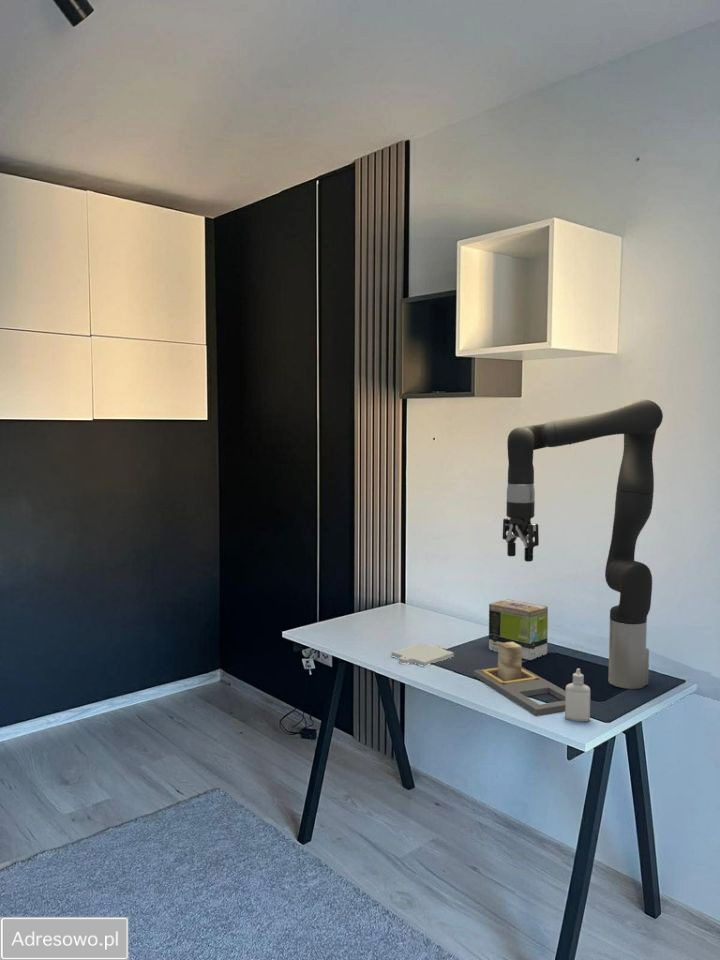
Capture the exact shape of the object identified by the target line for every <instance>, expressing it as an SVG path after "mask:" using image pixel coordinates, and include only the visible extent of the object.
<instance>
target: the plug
mask: <svg viewBox="0 0 720 960" xmlns="http://www.w3.org/2000/svg"><path fill="white" fill-rule="evenodd" d="M522 659H523V658H522V646H520V645H518V644H516V643H514V642H506V643H498V652H497V667H498V676H497V678H499V679H501V680H502V681H511V680H518V679H522V678H521V667H522Z"/></svg>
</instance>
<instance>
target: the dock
mask: <svg viewBox="0 0 720 960" xmlns="http://www.w3.org/2000/svg"><path fill="white" fill-rule="evenodd" d="M473 677H475V678H476V677H477V678H476V679H478V680H479V679H480V680H479V681H481V682H482V681H483V682H482V683H484V684H486V685H487V686H489V687H491V688H492V689H494V690H495V691H497V692H498V693H500V694H502V695H503V696H505V697H506V698H508V699H509V700H511V701H512V702H514V703H515V704H517V705H519V706H520V707H521V708H523V709H525V710H527V711H528V712H529V713H530V714H533V715H535V716H543V715H549V714H555V713H560V712H562V713H563V712H565V691H566V689H565V690H564V689H563V688H561V687H559V686H557V685H555V684H554V683H552V682H551V681H548V680H546V679H545V678H543V677H541V676H539V675H537V674H536V673H533V672H532V671H530V670H528V669H526V668H525V667H523V666H521V679H518V680H511V681H502V680H501V679H499V678H498V666H497V667H491V668H490V667H489V668H483V669H474V670H473ZM546 694H550V695H551V696H553V697H555V698H557V699H558V701H554V702H552V701H551V702H546V703H540V704H539V703H537V702H536V701H535V700H533V699H530V698H529V697H532V696H533V697H534V696H539V695H546Z"/></svg>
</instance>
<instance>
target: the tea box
mask: <svg viewBox="0 0 720 960" xmlns="http://www.w3.org/2000/svg"><path fill="white" fill-rule="evenodd" d="M548 607H549V606H547V605H541V604H536V603H530V602H525V601H521V600H514V599H509V598H506V599H502V600H499V601H495V602H491V603H489V604H488V650H489V649H490V650H489V651H492V650H493V651H492V652H496V653H498V643H506V642H514V643H516V644H518V645H520V646H522V659H524V660H527V661H532V660H535V659H537V657H538V658H540V657H542V655H543V656H546V655H548V654H547V653H548V633H549V631H548V628H549V627H548V625H549V623H548V620H549V618H548V617H549V612H548V610H549V609H548Z"/></svg>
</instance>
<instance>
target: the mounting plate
mask: <svg viewBox="0 0 720 960" xmlns="http://www.w3.org/2000/svg"><path fill="white" fill-rule="evenodd" d="M454 655H455V654H454V651H450V650H448V649H447V650H446V647H445V646H443V645H441V644H440V645H437V644H436V645H430V644H426V643H422V642H421V643H416V644H414V645H411V646H407V647H404V648H401V649H398V650H394V651H391V657H392V656H395V657H397V658H399V659H398V661H399V662H401V663H406V664H407V663H416V664H420V665H423V666H426V665H428V664H431V663H436V662H439V661H442V662H444V661H443V660H445V661H447V660H446V659H448V658H450V659H452V658H451V657H453V658H454ZM448 660H449V659H448ZM439 663H440V662H439ZM436 664H437V663H436Z"/></svg>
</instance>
